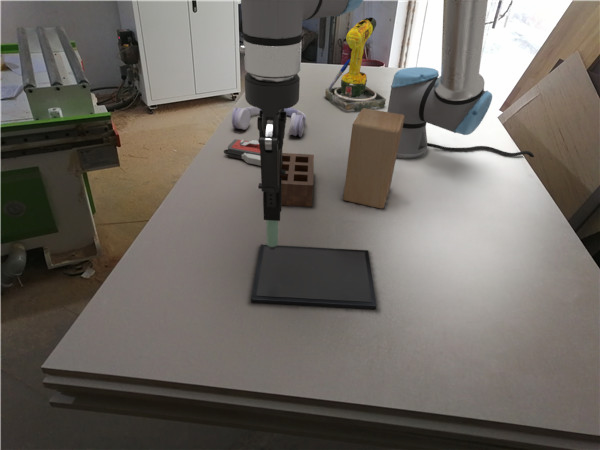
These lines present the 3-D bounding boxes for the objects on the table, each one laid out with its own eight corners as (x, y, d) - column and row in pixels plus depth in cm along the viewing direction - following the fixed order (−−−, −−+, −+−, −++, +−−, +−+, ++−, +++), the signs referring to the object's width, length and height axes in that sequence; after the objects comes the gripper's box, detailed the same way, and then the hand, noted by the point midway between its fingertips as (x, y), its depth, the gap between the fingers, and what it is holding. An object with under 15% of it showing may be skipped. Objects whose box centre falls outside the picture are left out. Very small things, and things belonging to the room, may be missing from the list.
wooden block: (389, 189, 104) (405, 114, 92) (383, 209, 96) (399, 130, 84) (351, 181, 106) (362, 107, 94) (342, 200, 98) (352, 122, 86)
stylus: (278, 244, 74) (278, 162, 64) (277, 251, 72) (277, 168, 62) (267, 243, 74) (266, 161, 64) (266, 251, 72) (264, 167, 62)
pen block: (312, 174, 108) (313, 154, 104) (311, 206, 96) (313, 185, 92) (272, 172, 108) (272, 152, 104) (267, 204, 96) (266, 182, 92)
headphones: (300, 141, 123) (311, 120, 140) (301, 118, 119) (313, 100, 136) (230, 132, 126) (249, 113, 143) (229, 110, 123) (249, 93, 139)
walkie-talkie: (220, 159, 112) (288, 172, 108) (219, 145, 110) (288, 157, 106) (233, 146, 119) (298, 158, 115) (232, 132, 117) (298, 143, 112)
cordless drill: (389, 107, 150) (403, 24, 133) (344, 112, 143) (353, 27, 127) (363, 91, 163) (373, 15, 147) (321, 96, 157) (327, 17, 140)
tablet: (367, 253, 83) (368, 249, 82) (375, 309, 71) (376, 305, 70) (260, 247, 83) (260, 243, 82) (251, 302, 71) (251, 298, 70)
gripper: (251, 56, 61) (256, 189, 75) (235, 90, 49) (244, 241, 63) (301, 59, 61) (296, 192, 75) (297, 93, 49) (292, 243, 63)
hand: (272, 214), depth 69 cm, fingers closed on stylus, 2 cm apart
